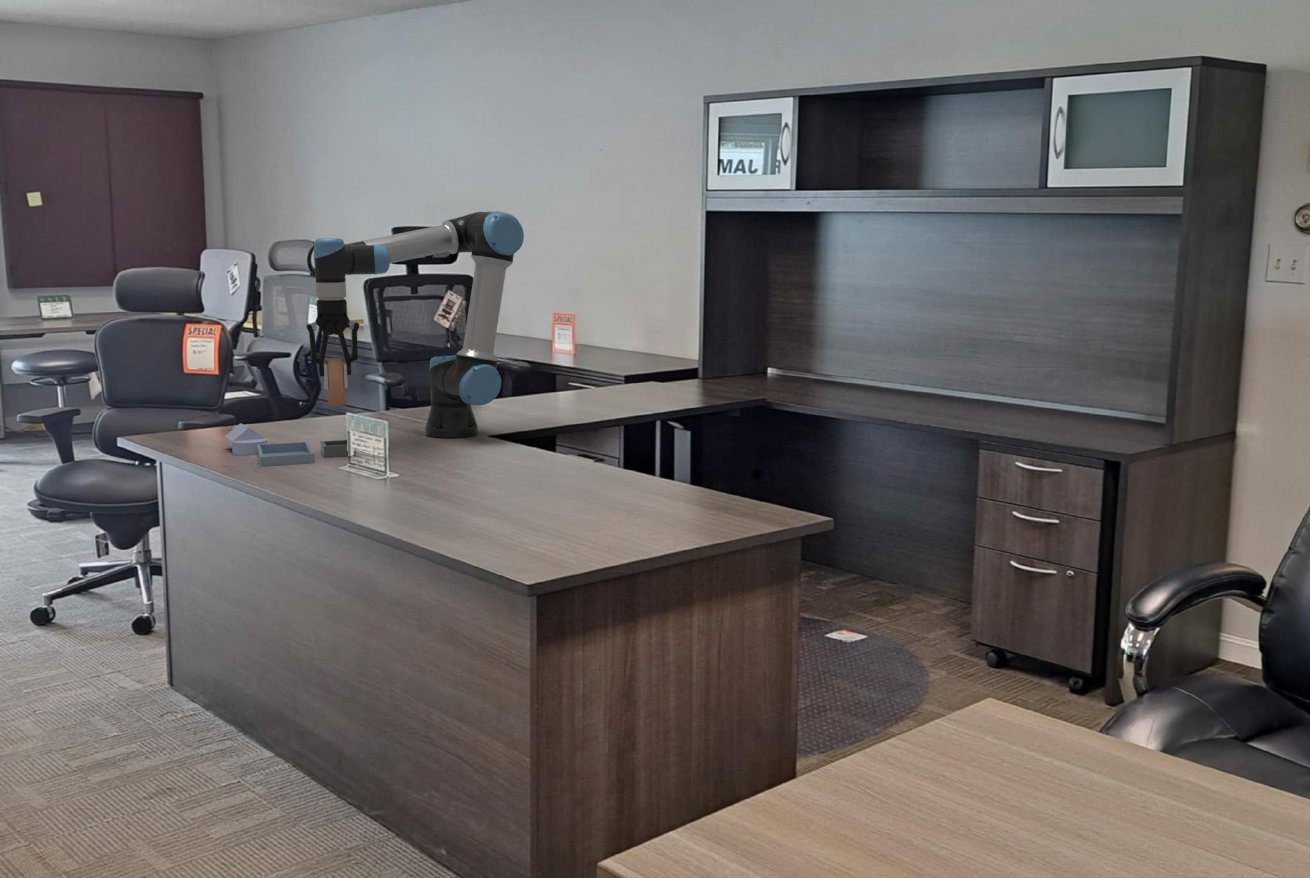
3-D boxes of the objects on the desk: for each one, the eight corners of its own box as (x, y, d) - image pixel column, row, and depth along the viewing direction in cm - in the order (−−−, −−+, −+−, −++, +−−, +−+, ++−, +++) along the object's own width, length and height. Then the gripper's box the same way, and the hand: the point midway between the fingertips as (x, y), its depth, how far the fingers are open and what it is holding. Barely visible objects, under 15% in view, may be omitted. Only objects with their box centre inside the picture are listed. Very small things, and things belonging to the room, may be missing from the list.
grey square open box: (351, 452, 328) (351, 439, 328) (355, 458, 321) (354, 444, 320) (321, 454, 325) (320, 441, 325) (324, 460, 318) (323, 446, 317)
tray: (308, 452, 328) (307, 441, 328) (314, 465, 311) (313, 453, 311) (257, 455, 324) (256, 444, 323) (260, 468, 307) (260, 456, 306)
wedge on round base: (225, 448, 333) (237, 456, 322) (223, 424, 332) (235, 431, 321) (258, 445, 338) (271, 453, 327) (257, 421, 337) (270, 428, 326)
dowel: (344, 403, 324) (342, 358, 321) (346, 405, 319) (344, 359, 317) (327, 404, 322) (325, 358, 320) (329, 406, 318) (326, 360, 316)
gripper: (363, 296, 322) (367, 384, 326) (295, 298, 316) (300, 388, 320) (367, 298, 315) (371, 388, 319) (297, 300, 309) (303, 391, 314)
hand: (336, 388), depth 320 cm, fingers closed on dowel, 4 cm apart
